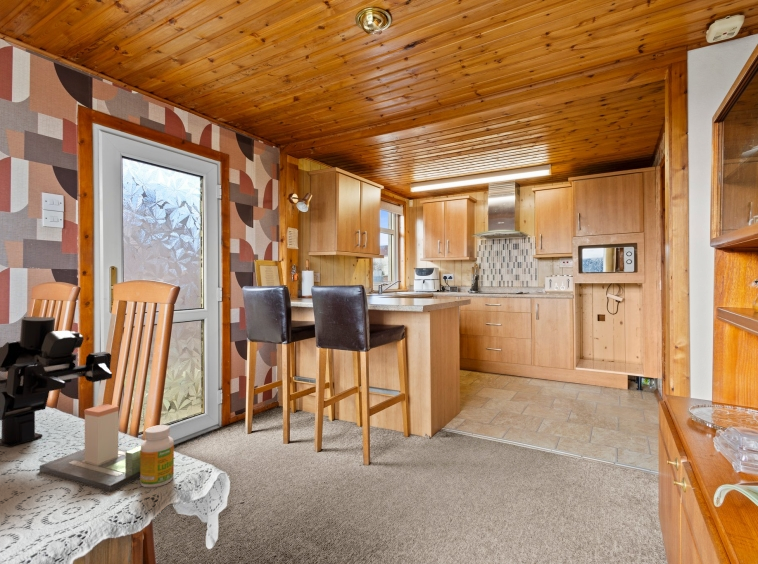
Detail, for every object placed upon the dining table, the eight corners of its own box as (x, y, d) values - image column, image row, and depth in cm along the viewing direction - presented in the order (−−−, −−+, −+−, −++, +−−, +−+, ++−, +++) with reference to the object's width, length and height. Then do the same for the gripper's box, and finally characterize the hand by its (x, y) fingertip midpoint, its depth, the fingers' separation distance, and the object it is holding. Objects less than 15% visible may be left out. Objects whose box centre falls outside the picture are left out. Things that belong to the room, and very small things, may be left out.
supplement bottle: (158, 490, 70) (159, 435, 70) (132, 486, 71) (133, 432, 71) (180, 475, 75) (180, 424, 75) (155, 472, 77) (155, 422, 77)
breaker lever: (84, 460, 79) (84, 409, 78) (105, 452, 82) (105, 403, 82) (98, 464, 77) (98, 412, 77) (118, 455, 81) (118, 406, 81)
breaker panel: (39, 471, 77) (39, 445, 77) (97, 449, 87) (97, 425, 87) (110, 492, 69) (110, 462, 69) (164, 465, 79) (164, 439, 79)
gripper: (-7, 334, 79) (40, 348, 73) (90, 326, 96) (135, 337, 91) (-13, 389, 79) (34, 407, 74) (86, 371, 97) (130, 385, 91)
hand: (89, 380), depth 82 cm, fingers open, 9 cm apart
